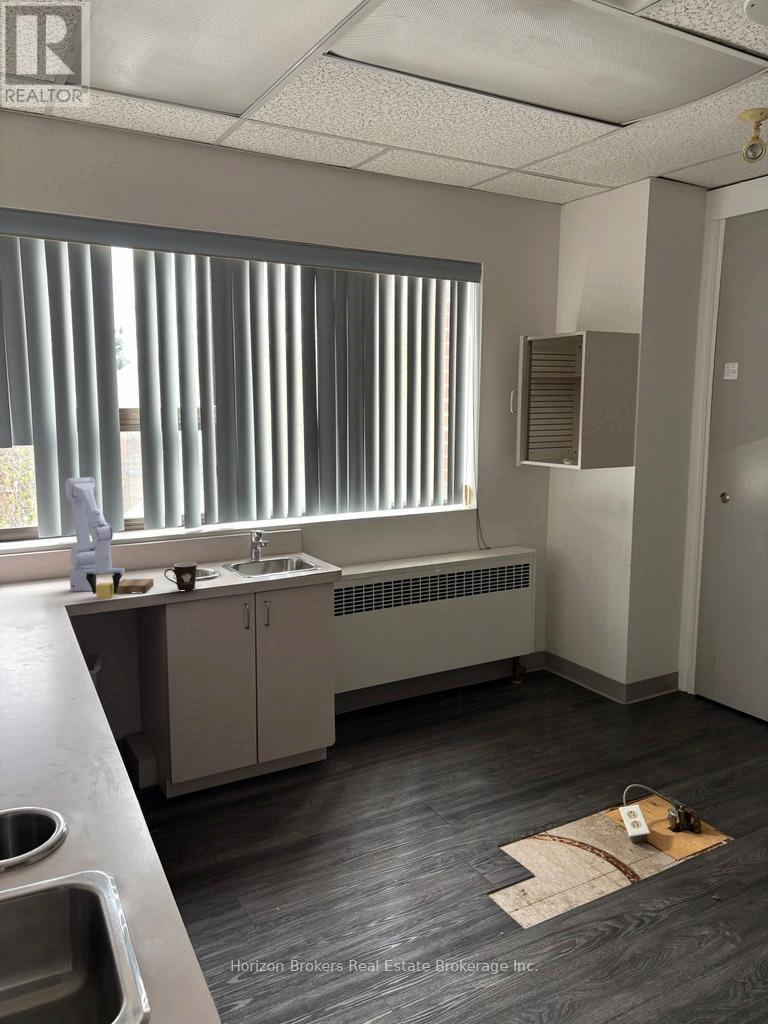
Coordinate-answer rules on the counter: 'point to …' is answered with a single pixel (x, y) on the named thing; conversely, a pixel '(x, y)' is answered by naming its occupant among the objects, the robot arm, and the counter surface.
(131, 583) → the walnut base
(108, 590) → the mustard cube
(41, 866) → the counter surface
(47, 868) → the counter surface
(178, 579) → the coffee mug
